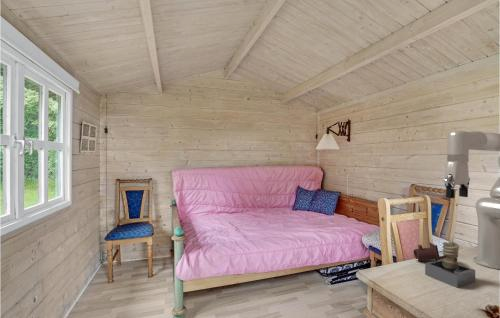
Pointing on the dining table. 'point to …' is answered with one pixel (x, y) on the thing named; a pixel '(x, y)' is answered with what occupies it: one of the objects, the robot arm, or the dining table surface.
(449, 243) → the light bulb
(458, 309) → the dining table surface
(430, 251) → the dark brown lumpy piece
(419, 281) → the dining table surface
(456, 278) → the frame
